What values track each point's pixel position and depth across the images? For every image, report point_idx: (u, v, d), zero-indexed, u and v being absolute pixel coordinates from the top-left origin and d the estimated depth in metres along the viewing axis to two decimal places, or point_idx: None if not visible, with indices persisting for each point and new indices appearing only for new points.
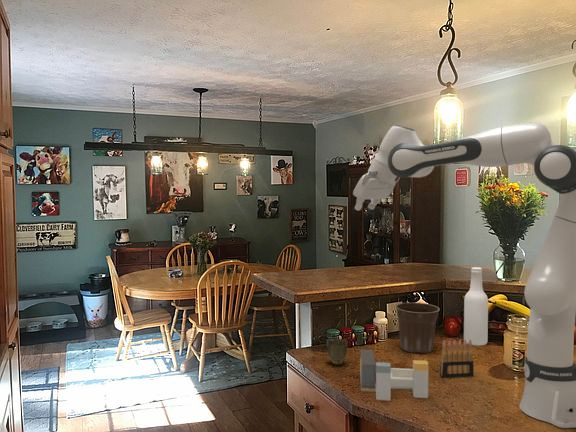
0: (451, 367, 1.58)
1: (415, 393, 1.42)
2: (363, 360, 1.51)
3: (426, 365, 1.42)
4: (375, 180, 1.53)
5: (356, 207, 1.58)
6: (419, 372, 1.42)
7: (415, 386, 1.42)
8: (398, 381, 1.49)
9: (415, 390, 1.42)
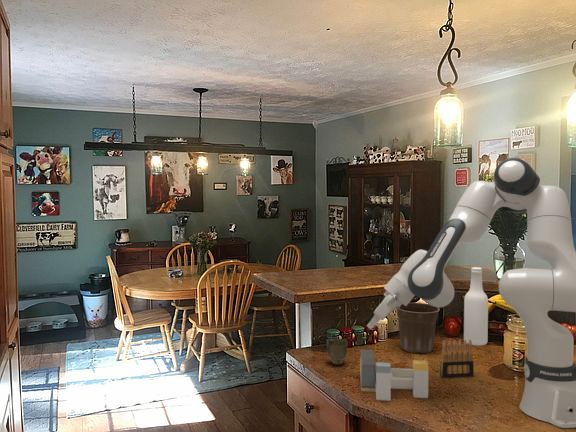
0: (451, 367, 1.58)
1: (415, 393, 1.42)
2: (363, 360, 1.51)
3: (426, 365, 1.42)
4: None
5: (369, 325, 1.49)
6: (419, 372, 1.42)
7: (415, 386, 1.42)
8: (398, 381, 1.49)
9: (415, 390, 1.42)
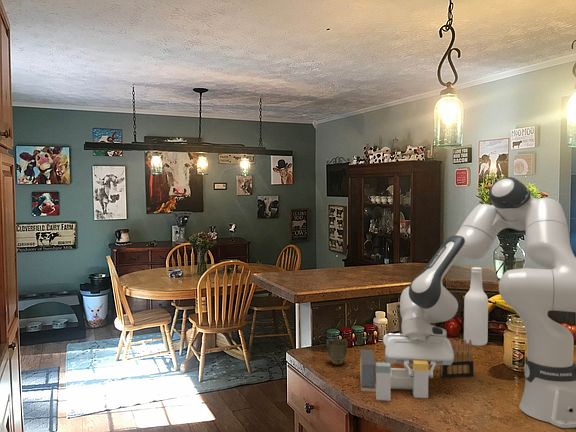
0: (451, 367, 1.58)
1: (415, 393, 1.42)
2: (363, 360, 1.51)
3: (426, 365, 1.42)
4: (397, 337, 1.50)
5: (408, 374, 1.44)
6: (419, 372, 1.42)
7: (415, 386, 1.42)
8: (398, 381, 1.49)
9: (415, 390, 1.42)
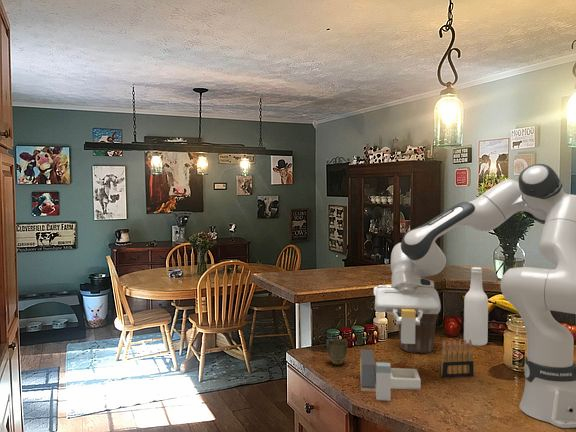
0: (451, 367, 1.58)
1: (403, 339, 1.49)
2: (363, 360, 1.51)
3: (413, 312, 1.48)
4: (387, 288, 1.57)
5: None
6: (406, 319, 1.49)
7: (403, 332, 1.49)
8: (398, 381, 1.49)
9: (403, 336, 1.49)
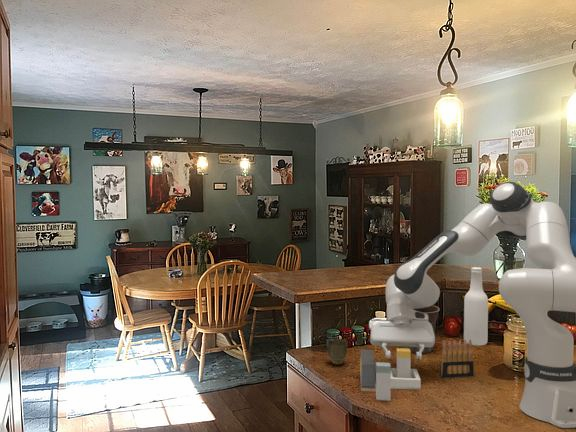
0: (451, 367, 1.58)
1: None
2: (363, 360, 1.51)
3: (408, 352, 1.51)
4: (382, 321, 1.59)
5: None
6: (402, 359, 1.51)
7: (398, 372, 1.52)
8: (398, 381, 1.49)
9: (398, 376, 1.52)
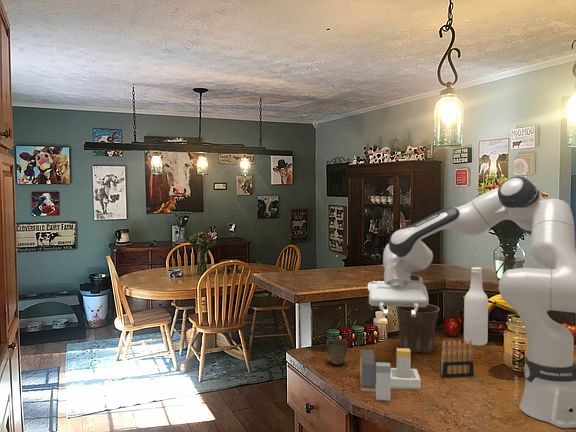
0: (451, 367, 1.58)
1: None
2: (363, 360, 1.51)
3: (408, 352, 1.51)
4: (380, 284, 1.72)
5: None
6: (402, 359, 1.51)
7: (398, 372, 1.52)
8: (398, 381, 1.49)
9: (398, 376, 1.52)
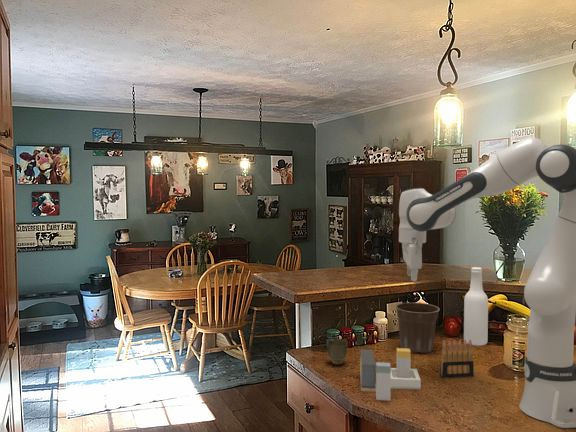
0: (451, 367, 1.58)
1: None
2: (363, 360, 1.51)
3: (408, 352, 1.51)
4: None
5: (413, 279, 1.58)
6: (402, 359, 1.51)
7: (398, 372, 1.52)
8: (398, 381, 1.49)
9: (398, 376, 1.52)
